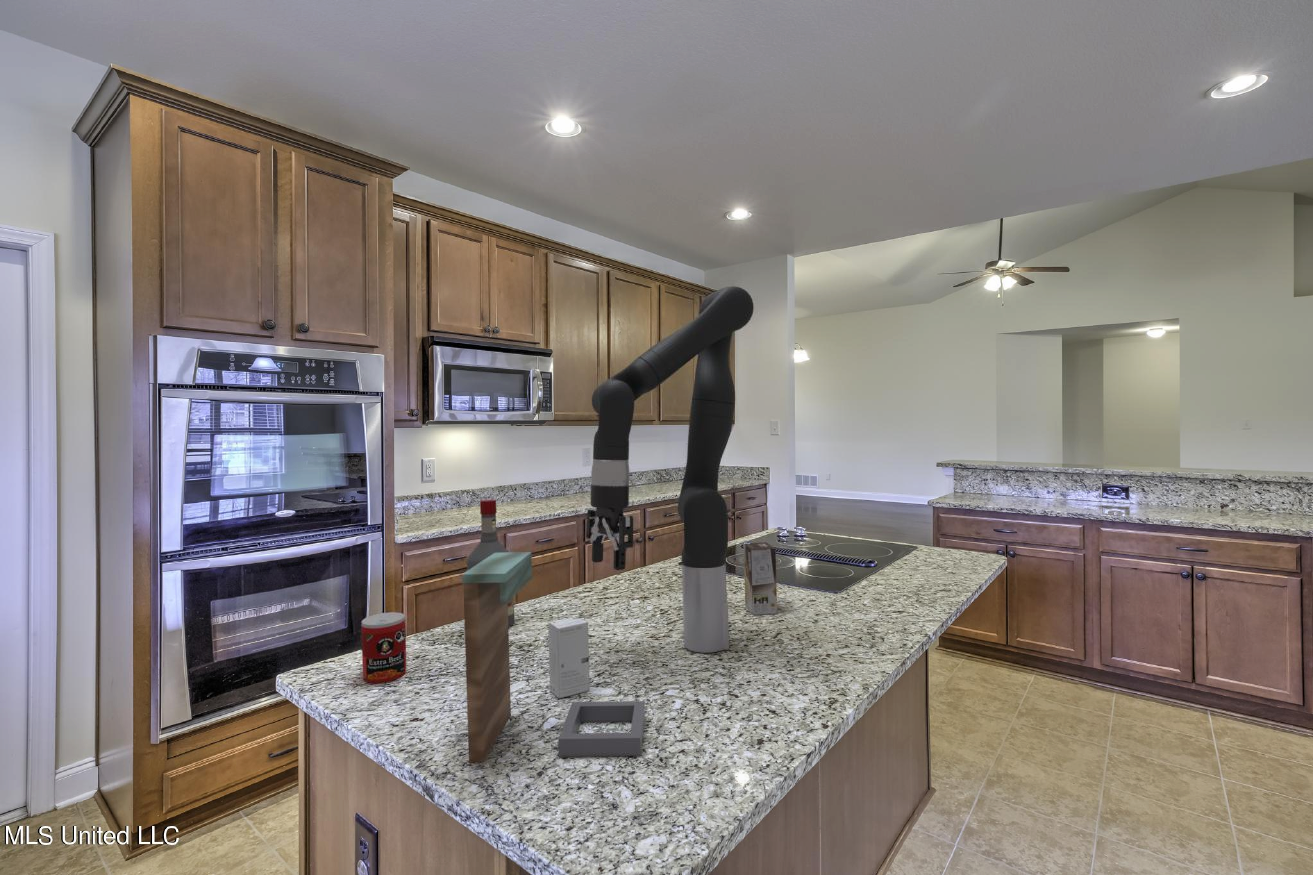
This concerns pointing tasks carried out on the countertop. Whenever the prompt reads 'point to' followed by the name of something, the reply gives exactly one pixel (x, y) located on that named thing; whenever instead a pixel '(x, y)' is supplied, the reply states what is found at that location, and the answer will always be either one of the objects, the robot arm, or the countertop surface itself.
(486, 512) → the liquor
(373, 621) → the canned food
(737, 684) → the countertop surface
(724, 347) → the robot arm
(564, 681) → the skincare box
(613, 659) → the countertop surface
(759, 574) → the coffee box
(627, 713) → the socket
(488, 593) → the awning stand
